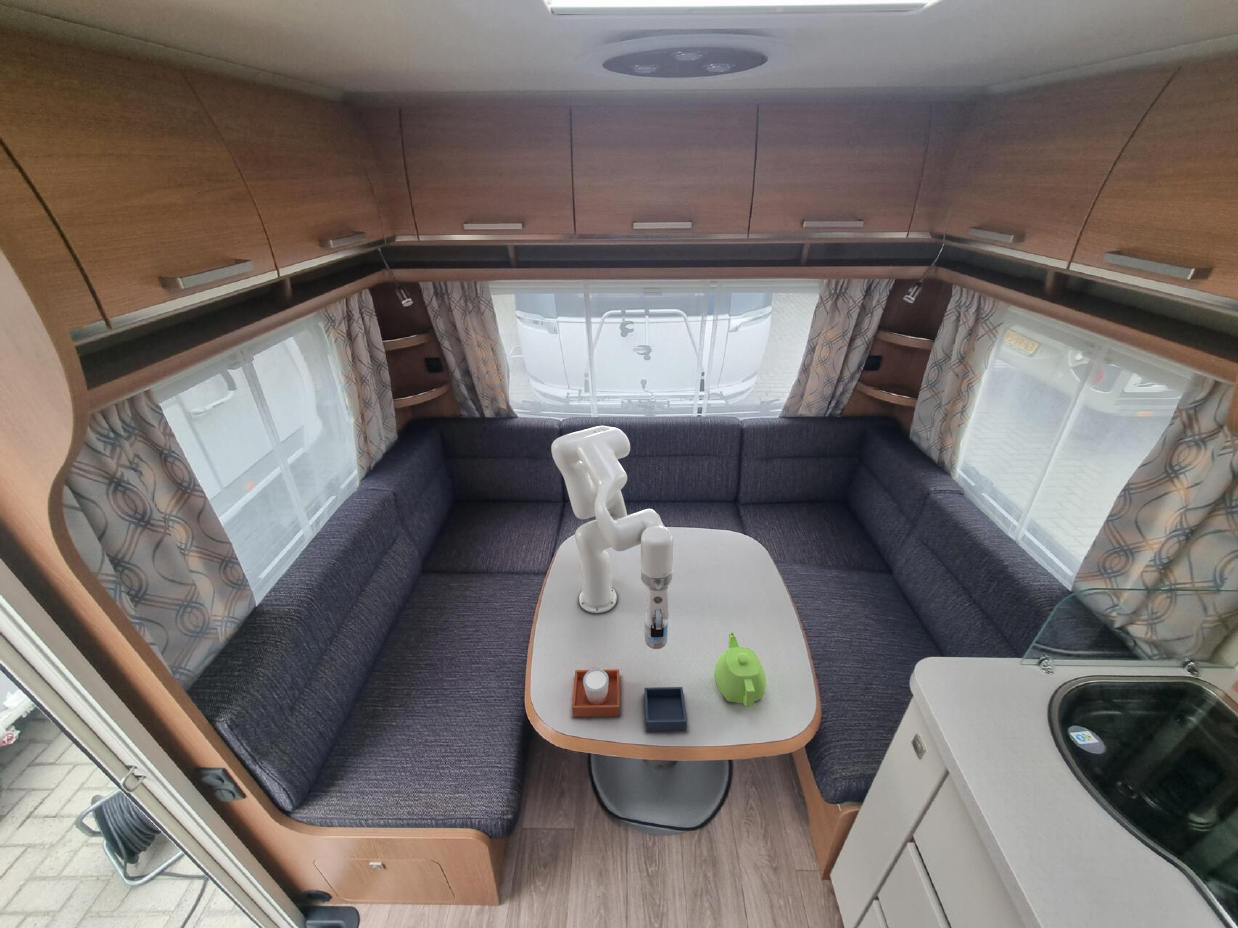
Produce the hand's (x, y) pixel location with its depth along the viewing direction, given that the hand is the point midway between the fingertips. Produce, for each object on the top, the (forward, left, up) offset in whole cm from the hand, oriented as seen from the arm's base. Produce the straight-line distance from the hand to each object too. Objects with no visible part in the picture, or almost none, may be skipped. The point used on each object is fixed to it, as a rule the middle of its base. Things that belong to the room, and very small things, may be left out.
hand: (656, 625), depth 126 cm
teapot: (+3, +23, -22) cm, 32 cm away
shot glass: (+5, -16, -22) cm, 27 cm away
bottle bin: (+10, +2, -22) cm, 24 cm away
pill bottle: (0, 0, -6) cm, 6 cm away
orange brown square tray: (+5, -16, -22) cm, 28 cm away
